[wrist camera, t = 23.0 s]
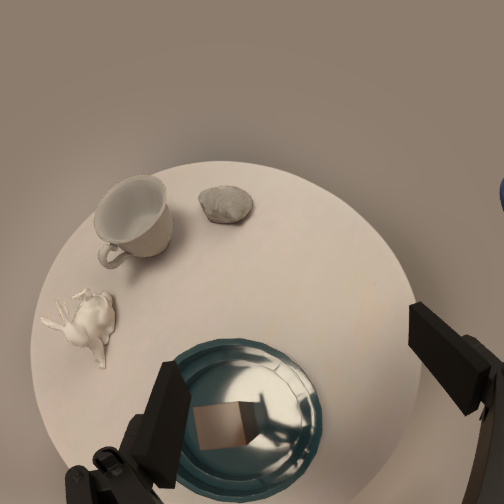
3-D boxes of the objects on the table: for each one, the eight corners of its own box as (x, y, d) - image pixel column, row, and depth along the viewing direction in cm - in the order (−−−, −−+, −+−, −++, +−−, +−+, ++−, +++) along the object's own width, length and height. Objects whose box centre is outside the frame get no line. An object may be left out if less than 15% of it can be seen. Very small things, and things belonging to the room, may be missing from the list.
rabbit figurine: (105, 371, 38) (64, 358, 30) (71, 357, 40) (31, 341, 32) (125, 298, 44) (91, 272, 36) (91, 290, 45) (56, 265, 37)
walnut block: (252, 401, 34) (238, 400, 25) (259, 434, 32) (246, 445, 23) (217, 407, 34) (192, 406, 25) (223, 439, 32) (200, 450, 23)
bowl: (344, 388, 34) (353, 385, 29) (268, 512, 27) (263, 528, 21) (213, 323, 40) (200, 309, 35) (143, 436, 33) (121, 439, 28)
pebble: (202, 233, 48) (193, 215, 43) (203, 194, 52) (195, 175, 47) (255, 226, 47) (251, 206, 43) (252, 187, 51) (248, 167, 47)
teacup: (104, 277, 46) (70, 248, 38) (144, 206, 52) (120, 170, 44) (159, 300, 43) (127, 272, 34) (200, 219, 49) (181, 179, 40)
